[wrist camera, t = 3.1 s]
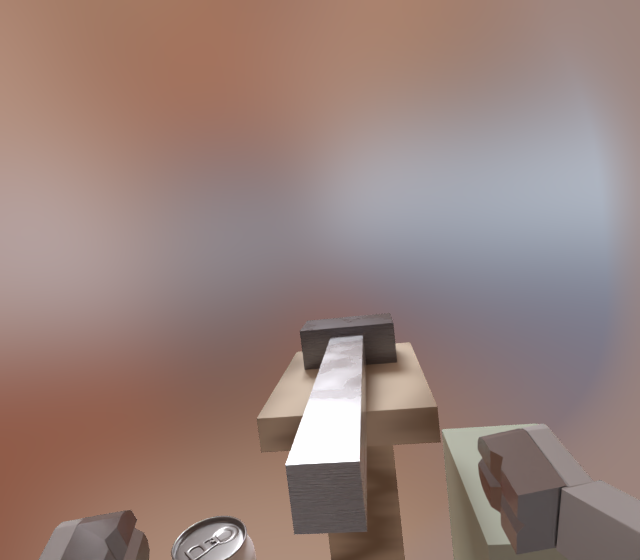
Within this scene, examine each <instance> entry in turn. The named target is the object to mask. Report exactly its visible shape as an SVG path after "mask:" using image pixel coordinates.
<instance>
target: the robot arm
mask: <svg viewBox="0 0 640 560" xmlns="http://www.w3.org/2000/svg"><path fill="white" fill-rule="evenodd" d="M478 451H479V453H480V455H481V456H482V459H481V460H480V462H479V463H478V470H479V477H480V481H481V485H482V488H483V491H484V493H485V496H486V498H487V500H488V502H489V504H490V506H491V507H492V508H494V509H495V510H497V511H498V512H500V513H501V527H502V529H503V530H504V532H505V534H506V536H507V538H508V540H509V542H510V544H511V545H512V547H513V549H514V551H515V553H516V555H518V554H524V553H529V552H535V551H540V550H546V549H552V548H556V550H557V551H558V552H559V553H561V554H562V555H563V556H564V557H566V558H567V559H568V560H640V500H638V499H636V498H634V497H633V496H631V495H629V494H627V493H625V492H623V491H621V490H619V489H617V488H615V487H613V486H611V485H609V484H607V483H605V482H604V481H602V480H599V481H593V480H592V478H591V477H590V476H589V475H588V474H587V472H586V471H585V470H584V469H583V468H582V467H581V465H580V464H579V463H578V462H577V461H576V459H575V458H574V457H573V456H572V455H571V453H570V452H569V451H568V450H567V449H566V447H565V446H564V445H563V444H562V443H561V442H560V440H559V439H558V438H557V437H556V435H555V434H554V433H553V432H552V431H551V430H550V429H549V427H548V426H546V425H545V424H539V425H534V426H529V427H524V428H521V429H520V428H518V429H514V430H509V431H505V432H500V433H496V434H491V435H486V436H482V437H479V439H478ZM136 521H137V519H136V517H135V516H134V514H133V513H132V511H131V510H127V511H121V512H115V513H109V514H104V515H98V516H93V517H86V518H82V519H77V520H72V521H67V522H62V523H61V524H60V525H59V526H58V527H56V529H55V530H54V532H53V533H52V535H51V537H50V539H49V541H48V543H47V545H46V547H45V549H44V551H43V552H42V554H41V556H40V558H39V560H149V545H148V540H147V538H146V536H145V534H144V533H143V532H142V531H140V530H137V529H136V528H134V527H135V524H136Z"/></svg>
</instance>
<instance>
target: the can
mask: <svg viewBox="0 0 640 560" xmlns="http://www.w3.org/2000/svg"><path fill="white" fill-rule="evenodd" d="M171 555H172V560H256V554H255V548H254V544H253V542H252V540H251V538H250V537H249V535H248V534H247V529H246V526H245V524H244V523H243V522H242V521H241V520H239V519H237V518H235V517H231V516H216V517H211V518H208V519H205V520H202V521H200V522H197V523H195V524H194V525H192V526H190V527H189V528H187V529H186V530H185V531H184V532H183V533H182V534H181V535H180V536H179V537H178V538H177V539H176V541H175V543H174V544H173V547H172V552H171Z"/></svg>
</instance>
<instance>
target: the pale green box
mask: <svg viewBox="0 0 640 560" xmlns="http://www.w3.org/2000/svg"><path fill="white" fill-rule="evenodd" d="M534 425H538V424H523V425H506V426H489V427H472V428H457V429H442V438H443V448H444V459H445V470H446V481H447V491H448V501H449V512H450V523H451V535H452V545H453V556H454V560H568V559H567V558H566V557H564V556H563V555H562V554H561V553H559V552H558V551H557V550H556V548H552V549H546V550H540V551H535V552H529V553H524V554H518V555H516V553H515V551H514V549H513V547H512V545H511V544H510V542H509V540H508V538H507V536H506V534H505V532H504V530H503V529H502V527H501V513H500V512H498V511H497V510H495V509H494V508H492V507H491V506H490V504H489V502H488V500H487V498H486V496H485V493H484V491H483V488H482V485H481V481H480V477H479V470H478V463H479V462H480V460H481V459H482V456H481V455H480V453H479V451H478V439H479V437H482V436H486V435H491V434H496V433H500V432H505V431H509V430H514V429H518V428H520V429H521V428H524V427H529V426H534Z"/></svg>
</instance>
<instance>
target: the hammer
mask: <svg viewBox="0 0 640 560" xmlns="http://www.w3.org/2000/svg"><path fill="white" fill-rule="evenodd" d="M300 336H301V345H302V353H303V361H304V369H305V370H309V369H319V372H318V374H317V377H316V380H315V383H314V386H313V389H312V391H311V394H310V397H309V400H308V403H307V406H306V408H305V411H304V414H303V417H302V420H301V422H300V425H299V428H298V431H297V434H296V437H295V439H294V442H293V445H292V448H291V451H290V454H289V456H288V460H287V462H286V473H287V481H288V489H289V496H290V504H291V512H292V520H293V528H294V534H319V533H349V532H367V407H366V365H371V364H384V363H396V362H397V355H396V345H395V336H394V327H393V321H392V317H391V314H390V313H387V314H376V315H367V316H366V315H365V316H355V317H344V318H335V319H334V318H333V319H323V320H312V321H307V322H306V323H305V325H304V326H303V328H302V329H301V330H300Z"/></svg>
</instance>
